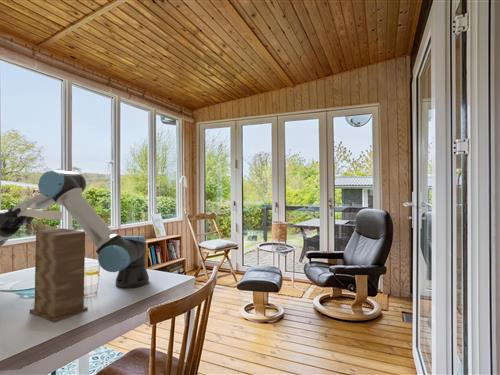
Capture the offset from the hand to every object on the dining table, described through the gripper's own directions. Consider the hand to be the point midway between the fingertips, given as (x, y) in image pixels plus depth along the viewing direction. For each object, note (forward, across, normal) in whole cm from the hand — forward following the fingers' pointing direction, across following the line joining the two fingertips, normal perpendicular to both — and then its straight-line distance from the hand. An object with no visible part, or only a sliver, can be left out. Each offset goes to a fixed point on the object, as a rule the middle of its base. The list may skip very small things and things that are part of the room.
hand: (30, 205), depth 120 cm
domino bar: (+3, 0, -6) cm, 7 cm away
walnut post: (0, 0, -44) cm, 44 cm away
